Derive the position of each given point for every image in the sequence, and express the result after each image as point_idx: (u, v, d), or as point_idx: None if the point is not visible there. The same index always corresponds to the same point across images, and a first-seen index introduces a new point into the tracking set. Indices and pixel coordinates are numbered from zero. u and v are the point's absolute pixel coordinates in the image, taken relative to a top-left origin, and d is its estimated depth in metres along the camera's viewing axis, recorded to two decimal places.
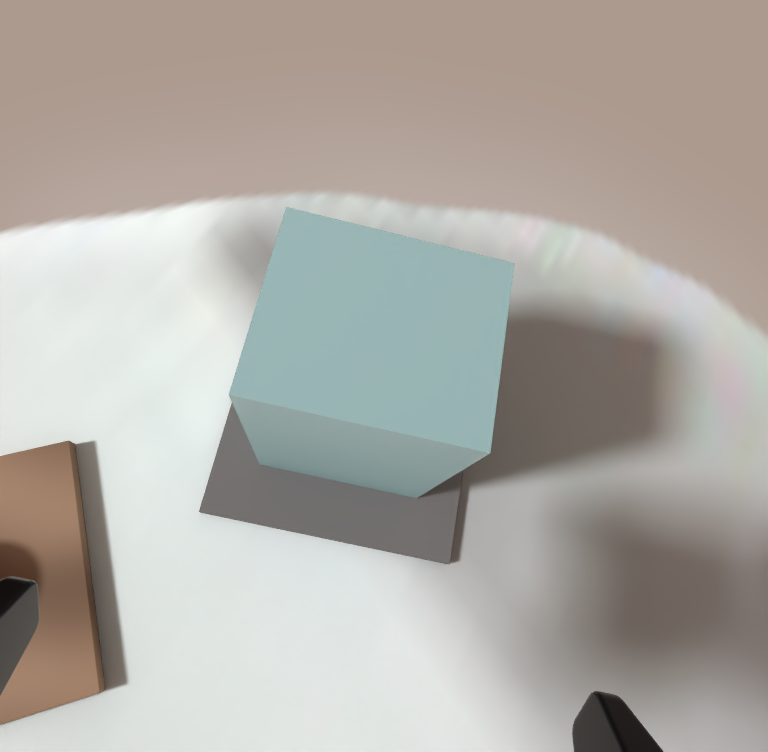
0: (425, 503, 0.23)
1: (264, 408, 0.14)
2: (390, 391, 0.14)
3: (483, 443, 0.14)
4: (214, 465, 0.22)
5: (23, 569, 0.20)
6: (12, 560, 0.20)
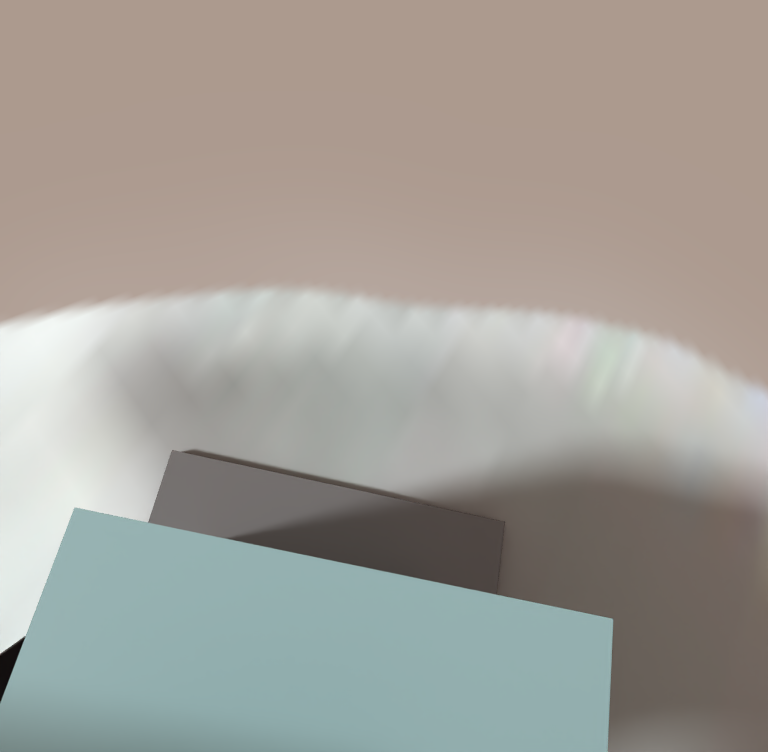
0: None
1: None
2: None
3: None
4: None
5: None
6: None
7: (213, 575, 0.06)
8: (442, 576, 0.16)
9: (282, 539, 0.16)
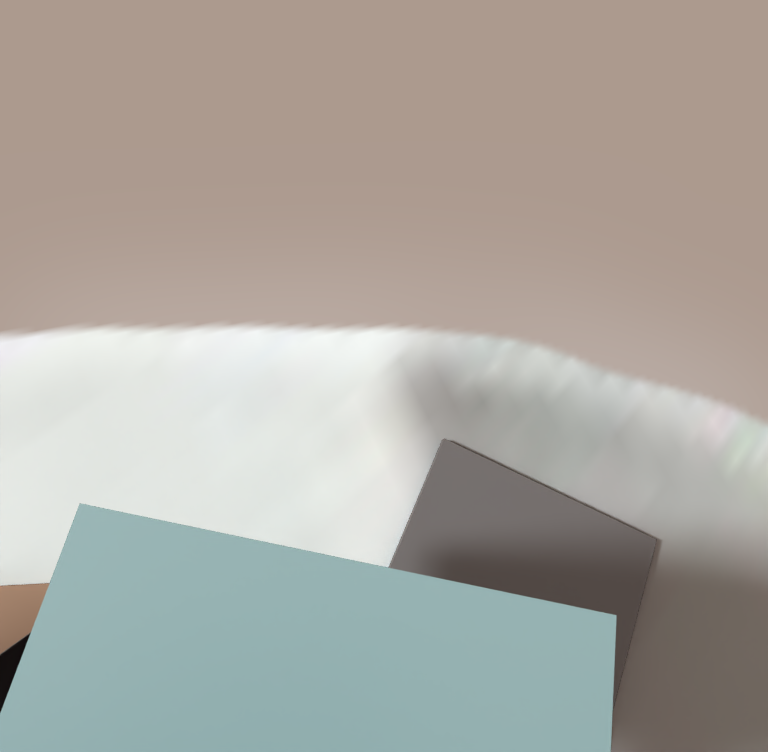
0: None
1: None
2: None
3: None
4: None
5: None
6: None
7: (218, 571, 0.06)
8: (609, 565, 0.23)
9: (508, 514, 0.23)
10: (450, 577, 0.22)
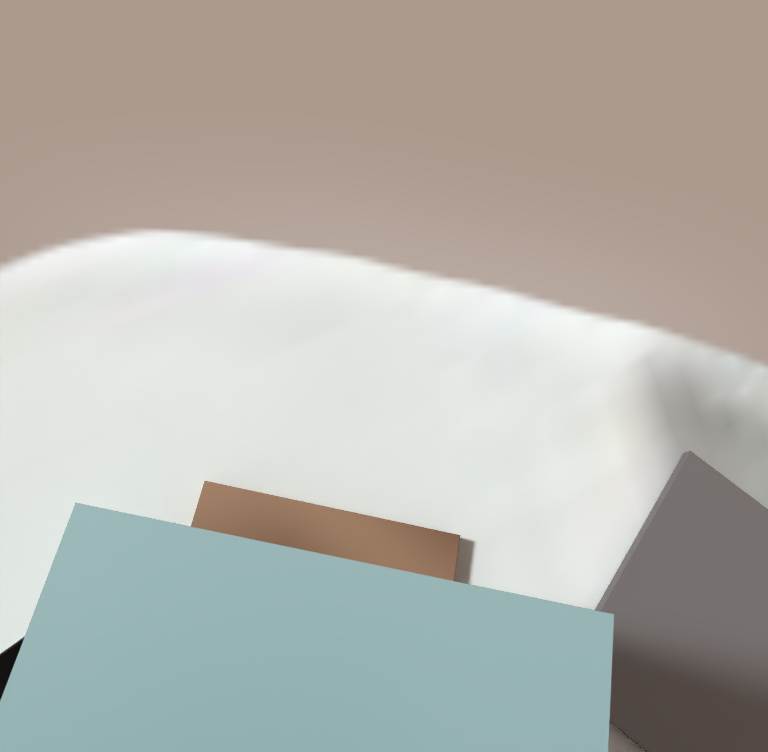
0: None
1: None
2: None
3: None
4: None
5: None
6: None
7: (214, 570, 0.06)
8: None
9: (752, 549, 0.21)
10: (685, 600, 0.20)
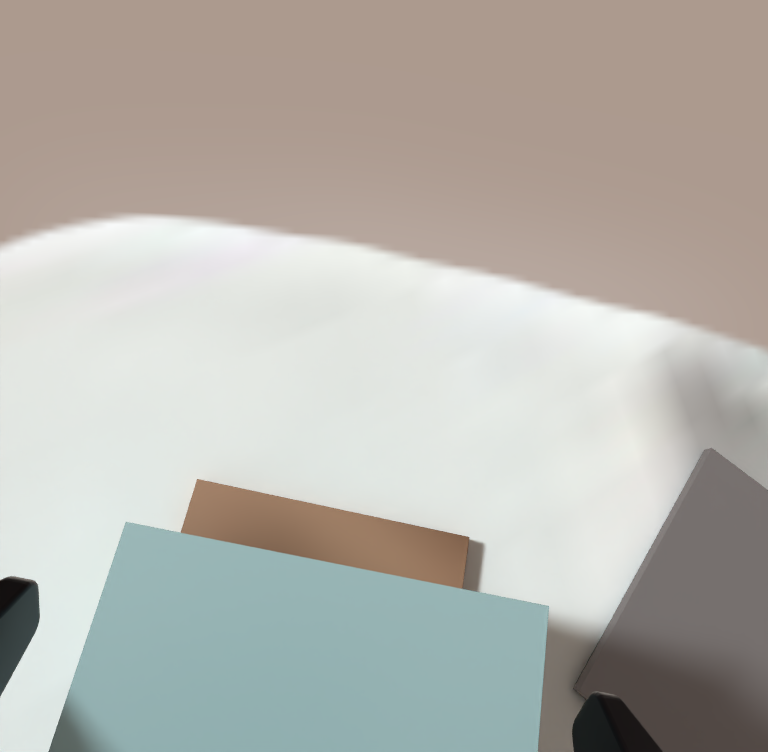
0: None
1: None
2: None
3: None
4: (608, 641, 0.18)
5: None
6: None
7: (234, 574, 0.08)
8: None
9: None
10: (708, 606, 0.19)
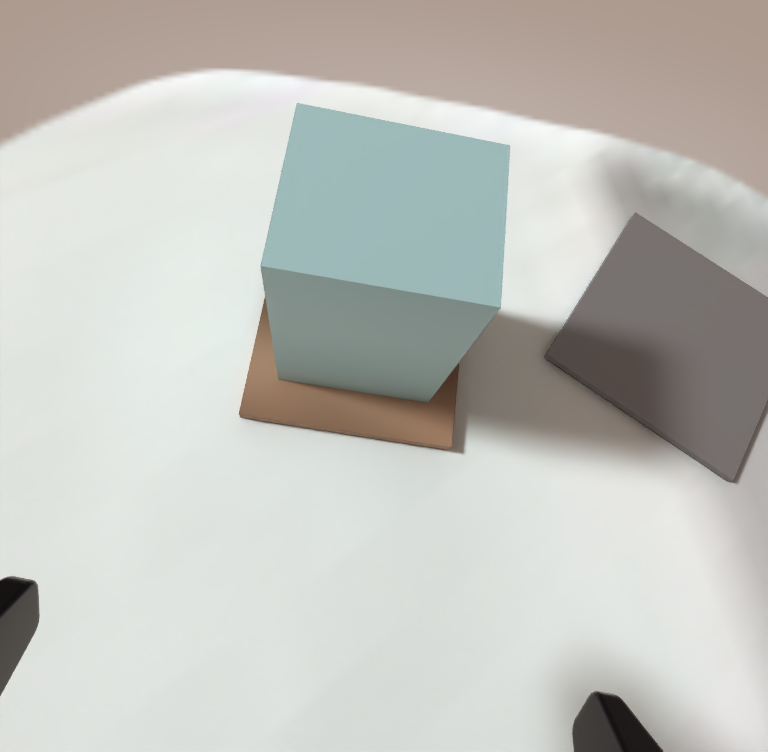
0: (724, 426, 0.26)
1: (292, 280, 0.15)
2: (406, 258, 0.15)
3: (494, 299, 0.15)
4: (566, 326, 0.26)
5: None
6: None
7: (352, 125, 0.16)
8: (761, 328, 0.28)
9: (683, 275, 0.28)
10: (634, 306, 0.27)
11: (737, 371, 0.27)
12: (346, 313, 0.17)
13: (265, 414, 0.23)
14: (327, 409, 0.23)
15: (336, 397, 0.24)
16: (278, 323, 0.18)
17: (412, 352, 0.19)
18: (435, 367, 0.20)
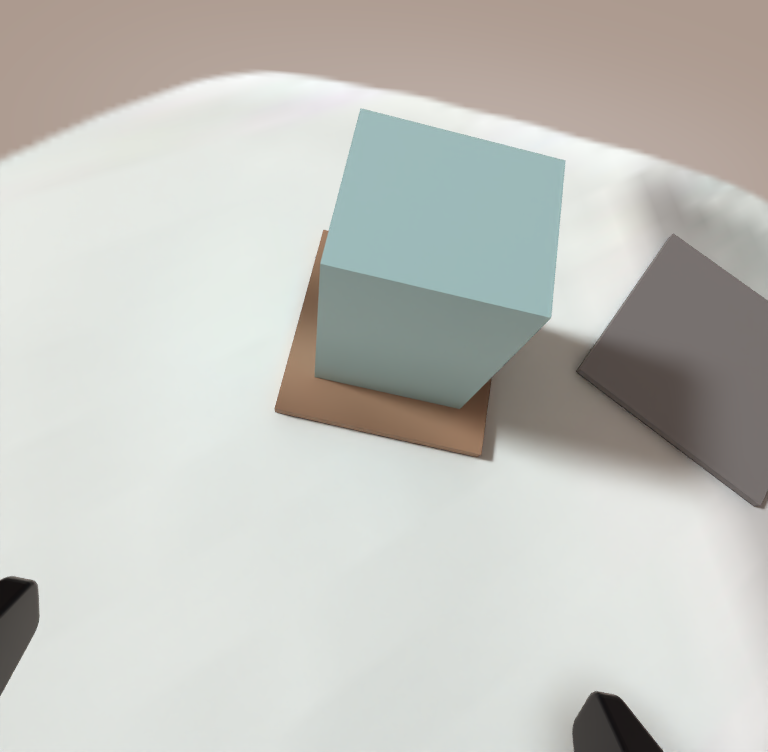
0: (753, 450, 0.26)
1: (348, 280, 0.15)
2: (461, 264, 0.15)
3: (544, 309, 0.15)
4: (599, 342, 0.27)
5: None
6: None
7: (413, 132, 0.17)
8: None
9: (718, 298, 0.28)
10: (668, 326, 0.27)
11: None
12: (395, 315, 0.17)
13: (300, 410, 0.23)
14: (361, 409, 0.24)
15: (370, 398, 0.24)
16: (326, 321, 0.18)
17: (454, 357, 0.19)
18: (474, 374, 0.20)
